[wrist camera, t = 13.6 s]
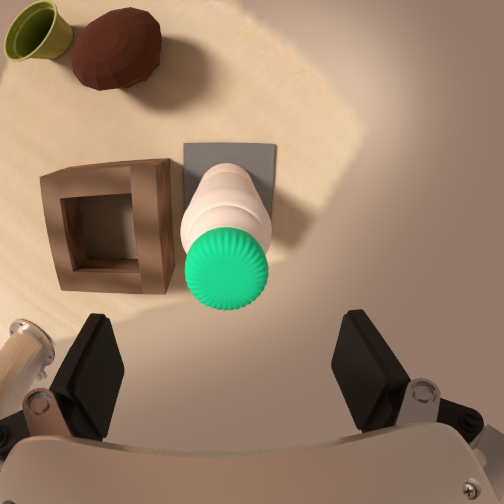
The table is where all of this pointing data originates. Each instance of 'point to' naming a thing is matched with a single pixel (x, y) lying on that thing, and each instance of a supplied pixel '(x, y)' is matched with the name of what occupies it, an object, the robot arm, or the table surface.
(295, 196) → the table surface
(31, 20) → the plant pot
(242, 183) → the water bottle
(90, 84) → the muffin
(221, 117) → the table surface
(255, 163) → the mat
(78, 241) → the slot box
